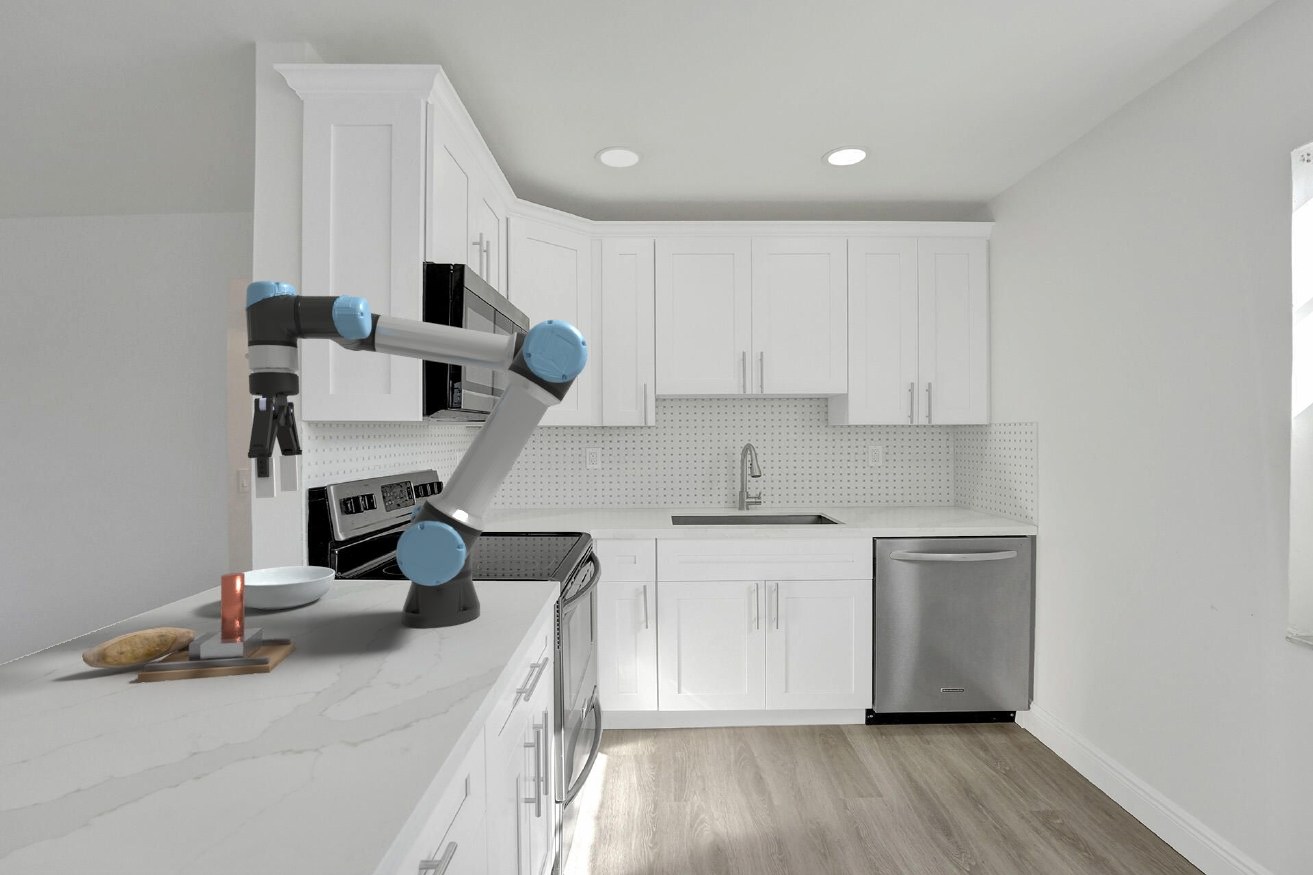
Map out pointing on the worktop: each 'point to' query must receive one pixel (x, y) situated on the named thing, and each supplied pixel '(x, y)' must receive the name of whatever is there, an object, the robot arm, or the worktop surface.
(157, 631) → the tan elongated oval piece
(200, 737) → the worktop surface
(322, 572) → the serving bowl
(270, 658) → the railed wooden base plate
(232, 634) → the copper peg on base
